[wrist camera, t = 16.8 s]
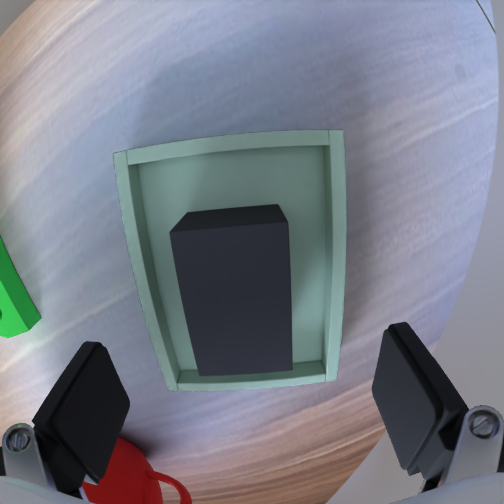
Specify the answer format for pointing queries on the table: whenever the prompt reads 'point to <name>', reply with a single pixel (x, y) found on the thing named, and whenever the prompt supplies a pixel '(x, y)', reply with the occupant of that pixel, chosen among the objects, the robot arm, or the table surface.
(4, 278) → the mechanical part
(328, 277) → the mount tray
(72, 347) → the table surface
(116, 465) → the ceramic cup
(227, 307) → the black block
